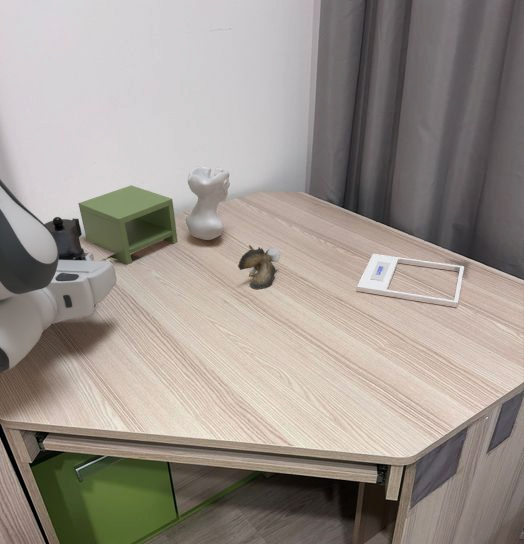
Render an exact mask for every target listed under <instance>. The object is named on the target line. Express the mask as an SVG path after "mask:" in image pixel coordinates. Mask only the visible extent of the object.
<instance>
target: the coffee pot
mask: <svg viewBox="0 0 524 544" xmlns="http://www.w3.org/2000/svg"><path fill="white" fill-rule="evenodd" d="M43 224H44V225H45V226H46V227H47V228H48V229H49V230H50V232H51V233H52V234H53V236H54V238H55V240H56V242H57V245H58V248H59V260H81V255H82V254H83V253H85V250H84V248H83V247H82V245H81V241H80V238H81V236H82V235H83V233H82V228H81V225H80V220H79V218H72V219H69V218H68V219H67V218H62V217H60V216H55V217H53V218H52V220H50V221H47V222H45V223H43ZM81 261H82V260H81Z"/></svg>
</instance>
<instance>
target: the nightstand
mask: <svg viewBox="0 0 524 544" xmlns="http://www.w3.org/2000/svg"><path fill="white" fill-rule="evenodd" d="M78 209H79V213H80V217H81V221H82V226H83V230H84V234H85V239H86V241H87V242H89V243H92V244H95V245H97V246H99V247H102V248H103V249H106V250H107V251H110V252H111V253H114V254H112V255H109V257H110V258H112V259H114V260H116V261H118V262H120V263H123V264H125V265H127V266H128V265H130V264H132V263H133V261H132V254H133V253H136V252H138V251H140V250H143V249H145V248H147V247H150V246H152V245H155V244H156V243H159V242H161V241H165V242H168V243H170V244H177V243H179V242H178V233H177V225H176V217H175V209H174V203H173V198H171V197H169V196H166V195H163V194H159V193H157V192H153V191H150V190H148V189H144V188H141V187H138V186H134V185H128V186H124V187H122V188H118V189H116V190H113V191H110V192H108V193H103V194H101V195H99V196H96V197H93V198H92V197H91V198H90V199H86V200H84V201H81V202H78Z"/></svg>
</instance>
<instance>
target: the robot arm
mask: <svg viewBox="0 0 524 544" xmlns="http://www.w3.org/2000/svg"><path fill="white" fill-rule="evenodd" d="M44 224H45V223H44V222H42V221H41V220H40V219H39V218H38V217H37V216H36V215H35V214H34V213H33V212H32V211H30V210H29V209H28V208H27V207H26V206H25V205H24V204H23V203H22V202H21V201H20V200H19V199H18V198H17V197H16V195H15V194H14V193H13V192H12V191H11V190H10V188H9V187H7V185H6V184H5V183H4V182H3V180H2V179H1V178H0V373H3V372H7V371H10V370H11V369H13V368H14V367H15V366H17V365H18V364H19V363H20V362H21V361H22V360H24V358H25V357H27V355H28V354H29V353H30V352H31V351H32V349H33V348H34V347H35V346H36V345H37V343H38V342H39V341H40V339H41V336H42V335H43V331H45V330H47V329H48V328H49V327H51V325H54V324H57V323H61V322H64V321H67V320H73V319H79V318H86V317H91V316H92V315H93V314H94V312H95V305H98V304H100V303H101V302H103V301H104V300H105V299H106V298H107V297H108V296H109V294H110V293H111V292H112V290H113V288H114V287H115V286H116V283H117V274H116V269H115V266H114V264H113V263H112V262H111V261H109V260H95V258H94V253H93V252H84V253H83V254H82V255H81V260H82V261H81V260H59V248H58V245H57V242H56V240H55V238H54V236H53V234H52V233H51V232H50V230H49V229H48V228H47V227H46V226H45V225H44Z"/></svg>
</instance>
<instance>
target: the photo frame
mask: <svg viewBox="0 0 524 544" xmlns="http://www.w3.org/2000/svg"><path fill="white" fill-rule="evenodd" d="M398 264H403V265H411V266H418V267H425V268H431V269H439V270H445V271H453V272H458V277H457V282H456V288H455V294H454V299H448V298H442V297H435V296H430V295H424V294H423V295H422V294H416V293H410V292H404V291H399V290H393V289H389V286H390V284H391V282H392V279H393V276H394V274H395V272H396V269H397V267H398ZM464 270H465V266H463V265H457V264H451V263H443V262H435V261H428V260H420V259H415V258H406V257H401V256H394V255H385V254H379V253H372V255H371V256H370V259H369V261H368V263H367V265H366V267H365V269H364V271H363V273H362V276H361V278H360V279H359V282H358V284H357V285H356V292H360V293H365V294H371V295H379V296H386V297H391V298H397V299H403V300H410V301H416V302H422V303H428V304H434V305H441V306H446V307H451V308H452V307H453V308H458V305H459V299H460V293H461V287H462V282H463V275H464Z"/></svg>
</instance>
